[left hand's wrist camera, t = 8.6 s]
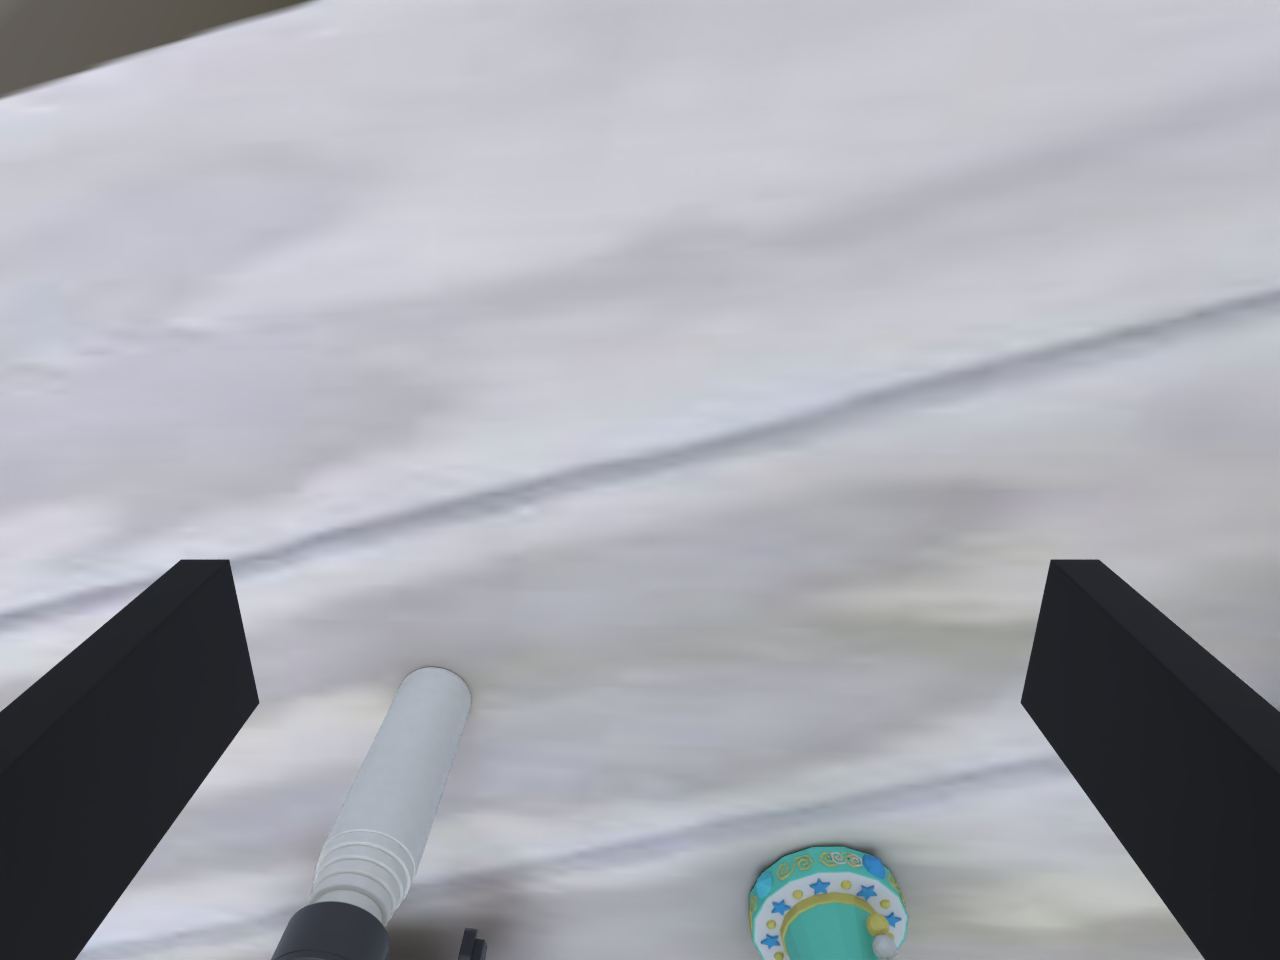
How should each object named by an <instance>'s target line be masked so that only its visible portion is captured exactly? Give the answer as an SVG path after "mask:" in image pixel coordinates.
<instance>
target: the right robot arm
mask: <svg viewBox="0 0 1280 960" xmlns="http://www.w3.org/2000/svg"><path fill="white" fill-rule="evenodd" d="M476 937H477V929H471V928H465V932H464V936H463V940H462V944H461V949H460V953H459V958H458V960H485V957H486V950H487V945H486V943H485V940H480V939H476Z"/></svg>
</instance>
